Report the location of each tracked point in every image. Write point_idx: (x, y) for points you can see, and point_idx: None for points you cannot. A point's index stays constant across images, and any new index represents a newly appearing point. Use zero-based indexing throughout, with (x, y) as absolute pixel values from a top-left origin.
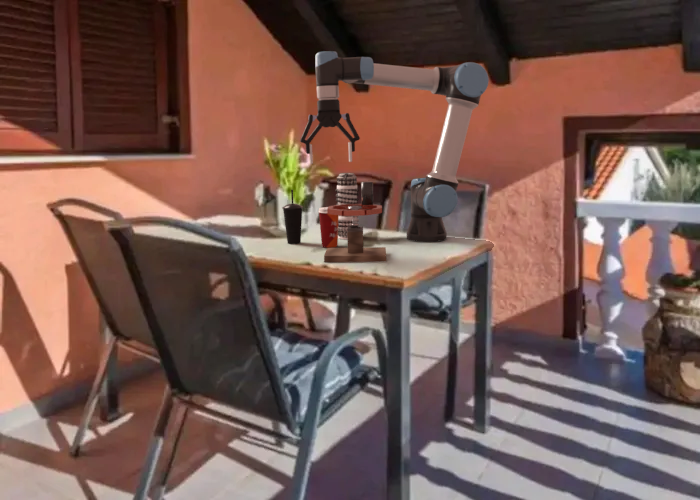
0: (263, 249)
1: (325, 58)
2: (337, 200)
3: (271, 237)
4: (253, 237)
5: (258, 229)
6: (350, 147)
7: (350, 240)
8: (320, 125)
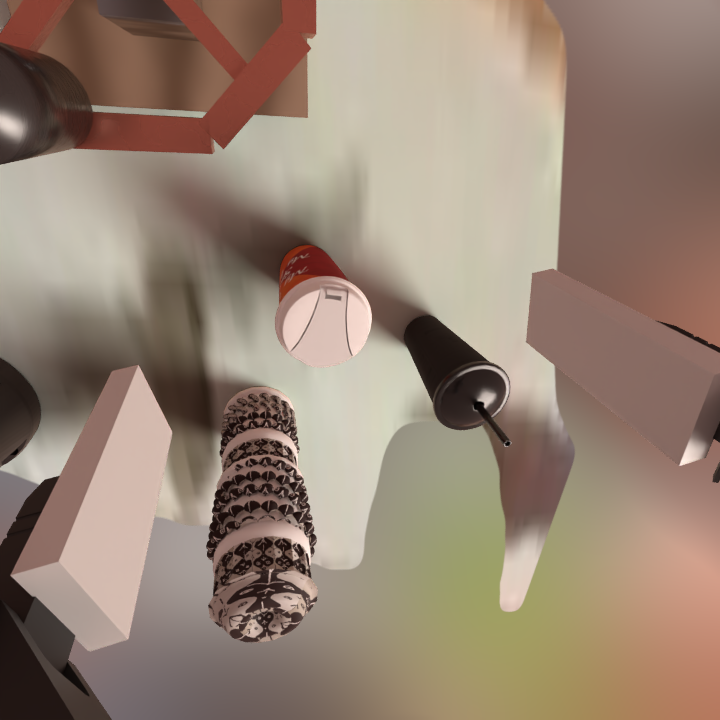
0: (517, 230)
1: None
2: (301, 492)
3: None
4: (524, 412)
5: (502, 506)
6: (72, 493)
7: None
8: None
